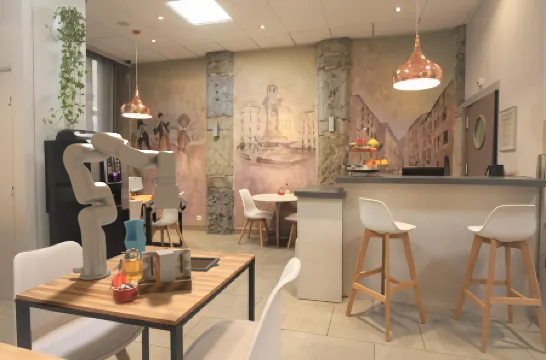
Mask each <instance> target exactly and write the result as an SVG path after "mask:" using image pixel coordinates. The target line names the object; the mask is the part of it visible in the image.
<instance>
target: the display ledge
mask: <svg viewBox="0 0 546 360" xmlns="http://www.w3.org/2000/svg"><path fill="white" fill-rule="evenodd" d="M164 249H169V247H164ZM164 249H163V250H164ZM171 250H172V251H173V252H174V253H175V276H176V281H169V282H158V283H157V282H156V276H155V251H156V250H150V251H146V252H142V253H141V254H142V259H141V272H142V273H141V275H142V276H141V278H142V280H144V281H142V280H141V283H139V284H137V285H138V287H137V288H138V291H137V293H138V295H148V294H158V293H169V292H178V291H179V292H180V291H186V290H187V291H188V290H192V289H193V284H192V283H193V281H192V271H191V257H192V256H191V248H190V247H189V248H180V249H179V248H177V249H171Z"/></svg>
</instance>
